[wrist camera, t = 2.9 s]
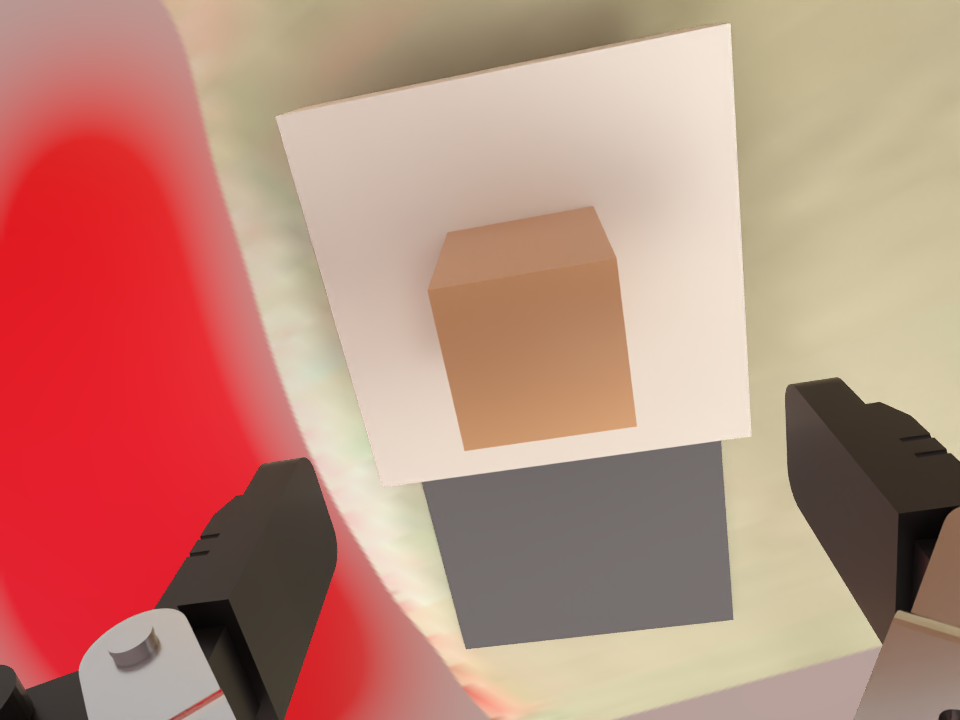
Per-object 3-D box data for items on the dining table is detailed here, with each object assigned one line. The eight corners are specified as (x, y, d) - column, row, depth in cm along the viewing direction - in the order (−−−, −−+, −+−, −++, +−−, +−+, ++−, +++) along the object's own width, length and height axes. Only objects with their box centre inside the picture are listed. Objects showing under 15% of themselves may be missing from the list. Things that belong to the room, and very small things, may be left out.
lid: (301, 107, 21) (198, 142, 14) (706, 24, 20) (805, 19, 13) (394, 447, 26) (350, 595, 19) (729, 398, 24) (811, 540, 18)
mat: (407, 417, 32) (406, 422, 31) (713, 371, 30) (715, 375, 30) (466, 643, 37) (465, 649, 36) (731, 613, 35) (733, 619, 35)
